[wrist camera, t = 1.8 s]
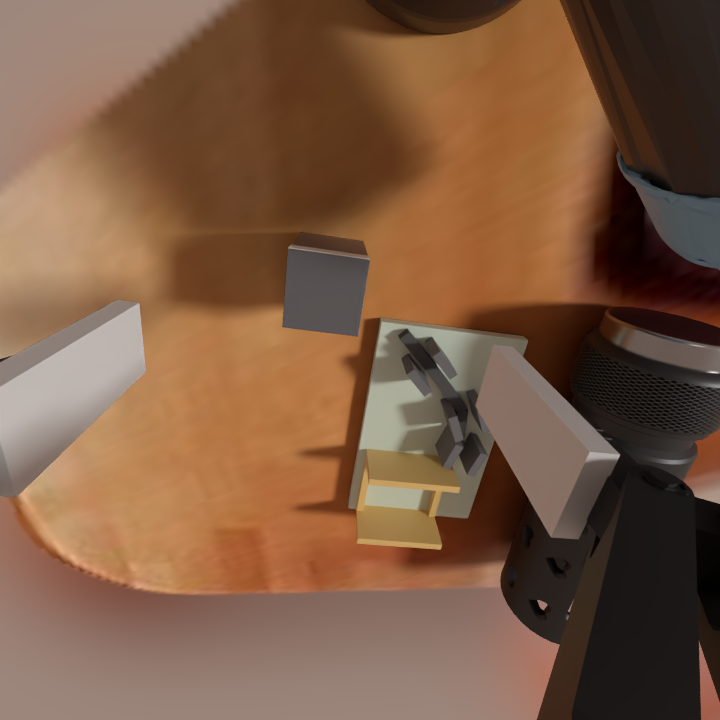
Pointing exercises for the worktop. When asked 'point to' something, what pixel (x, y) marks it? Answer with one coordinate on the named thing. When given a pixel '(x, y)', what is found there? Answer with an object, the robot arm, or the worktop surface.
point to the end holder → (399, 522)
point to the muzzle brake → (620, 437)
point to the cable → (437, 377)
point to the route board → (428, 411)
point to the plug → (325, 284)
